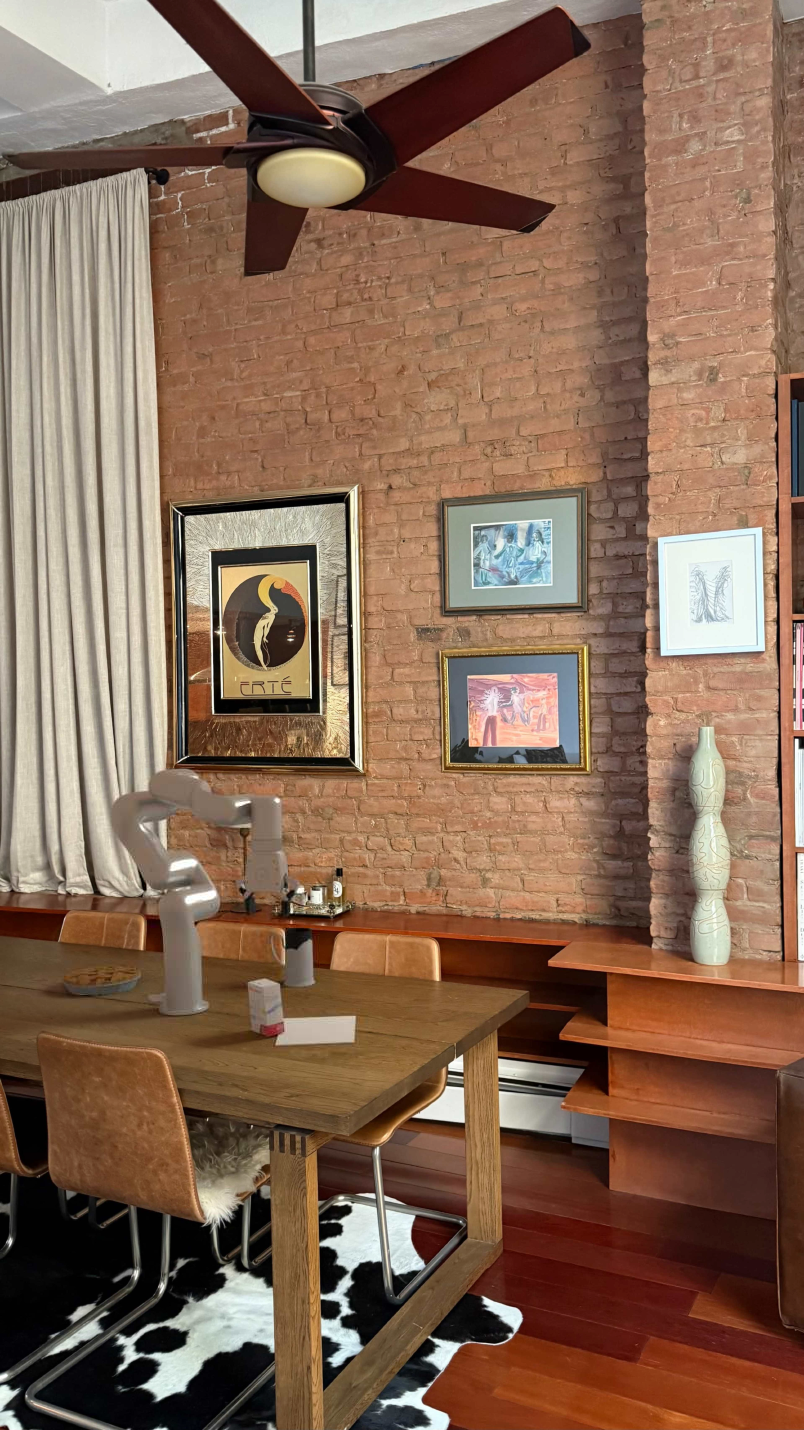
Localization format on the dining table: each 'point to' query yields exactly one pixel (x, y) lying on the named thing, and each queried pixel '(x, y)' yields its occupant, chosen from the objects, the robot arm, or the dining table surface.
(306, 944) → the tall grey black mug
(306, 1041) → the mat
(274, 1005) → the ink box
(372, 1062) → the dining table surface
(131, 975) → the pie
